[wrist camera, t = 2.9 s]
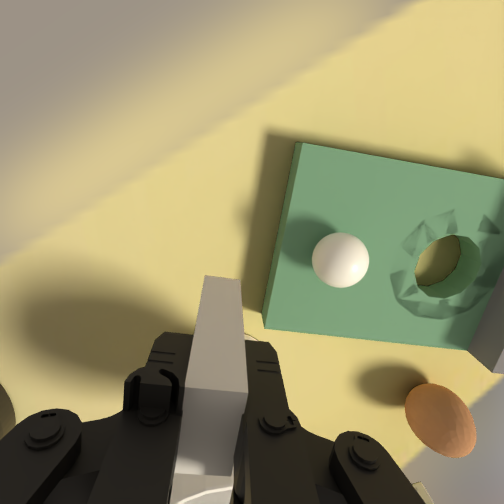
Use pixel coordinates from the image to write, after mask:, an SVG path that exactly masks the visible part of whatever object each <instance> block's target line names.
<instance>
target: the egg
mask: <svg viewBox="0 0 504 504" xmlns="http://www.w3.org/2000/svg"><path fill="white" fill-rule="evenodd" d="M405 413H406V418H407V421H408V424H409V425H410V427H411V429H412V431H413V432H414V433H415V435H416V436H417V437H418V438H419V439H420V440H421V441H422V442H423V443H424V444H425V445H426V446H428V447H429V448H431V449H432V450H434V451H435V452H437V453H440V454H442V455H444V456H447V457H451V458H459V457H463V456H466V455H468V454H469V453H470V452H471V451H472V450H473V448H474V446H475V443H476V428H475V425H474V421H473V418H472V415H471V413H470V411H469V410H468V408H467V406H466V405H465V404H464V402H463V401H462V400H461V399H460V398H459V397H458V396H457V395H456V394H455V393H453V392H452V391H450V390H449V389H447V388H445V387H443V386H440V385H436V384H421V385H418V386H416V387H414V388H413V389H412V390H411V391H410V392H409V394H408V396H407V398H406V402H405Z"/></svg>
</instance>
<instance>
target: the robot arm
mask: <svg viewBox="0 0 504 504" xmlns="http://www.w3.org/2000/svg"><path fill="white" fill-rule="evenodd" d="M233 466H234V484H233V489H232V493H231V498H230V503H229V504H426V503H425V502H424V500H423V499H422V498H421V496H420V495H419V494H418V492H417V491H416V490H415V488H414V487H413V486H412V484H411V483H410V482H409V480H408V479H407V478H406V476H405V475H404V473H403V472H402V471H401V469H400V468H399V467H398V465H397V464H396V463H395V461H394V460H393V459H392V457H391V456H390V454H389V453H388V452H387V451H386V450H385V449H384V447H383V446H382V445H381V444H380V443H379V442H377V441H376V440H374V439H373V438H371V437H370V436H368V435H366V434H363V433H360V432H355V431H347V432H344V433H341V434H339V436H338V437H337V439H336V440H335V442H333V441H331V440H328V439H325V438H323V437H320V436H317V435H315V434H313V433H310V432H308V431H307V430H305V429H304V428H303V427H301V425H300V423H299V421H298V418H297V417H296V416H295V415H294V414H293V412H292V411H291V410H289V407H288V402H287V397H286V393H285V388H284V384H283V379H282V374H281V370H280V365H279V361H278V356H277V352H276V351H275V349H274V348H273V347H272V346H271V344H270V343H269V342H263V341H253V340H245V339H244V325H243V311H242V297H241V283H240V280H237V279H230V278H222V277H214V276H207V275H205V277H204V283H203V288H202V294H201V299H200V304H199V310H198V315H197V321H196V326H195V332H194V335H189V334H180V333H171V332H164V333H163V334H162V335H160V336H159V337H158V338H157V339H156V340H155V342H154V344H153V347H152V350H151V353H150V355H149V358H148V362H147V363H146V366H145V367H142V368H139V369H137V370H136V371H134V372H133V373H131V374H130V375H129V376H128V378H127V379H126V380H125V382H124V400H123V410H122V411H120V412H119V413H117V414H115V415H113V416H110V417H107V418H103V419H100V420H94V421H88V422H83V423H82V422H81V420H80V419H79V417H78V415H77V414H75V413H73V412H71V411H69V410H65V409H50V410H44V411H40V412H38V413H36V414H33V415H31V416H28V417H27V418H26V419H24V420H23V421H21V422H20V423H19V424H17V425H16V426H15V412H14V408H13V405H12V403H11V400H10V398H9V396H8V395H7V393H6V391H5V390H4V388H3V387H2V386H1V385H0V504H170V499H171V492H172V485H173V478H174V473H181V474H197V475H213V476H229V477H231V475H232V470H233Z"/></svg>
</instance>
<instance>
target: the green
mask: <svg viewBox="0 0 504 504" xmlns="http://www.w3.org/2000/svg"><path fill="white" fill-rule="evenodd" d="M339 232H342V233H348V234H351V235H353V236H355V237H357V238H358V239H359V240H360V241H361V242H362V243H363V244H364V245H365V247H366V249H367V251H368V255H369V266H368V269H367V272H366V274H365V275H364V277H363V278H362V279H361V280H360V281H359V282H357V283H356V284H354V285H352V286H349V287H344V288H337V287H332V286H329V285H327V284H326V283H324V282H323V281H321V280H320V279H319V277H318V276H317V275H316V273H315V271H314V269H313V265H312V254H313V251H314V249H315V247H316V245H317V244H318V242H319V241H320V240H321V239H323V238H324V237H325V236H327V235H329V234H333V233H339ZM451 234H452V235H455V236H456V237H457V238H458V239H459V243H460V250H461V255H460V258H459V261H458V263H457V266H456V268H455V270H454V271H453V272H452V273H450V274H449V275H448V276H447V277H446V278H445V279H444V280H443V281H441V282H438V283H435V284H432V285H430V286H422V285H417V283H416V278H415V273H414V271H415V268H416V265H417V262H418V259H419V256H420V254H421V253H422V252H423V251H424V250H425V249H426V248H427V247H428V246H429V245H430V244H431V243H432V242H433V241H435V240H438V239H440V238H443V237H446V236H449V235H451ZM261 314H262V319H263V324H264V329H273V330H282V331H291V332H300V333H309V334H319V335H328V336H337V337H346V338H355V339H365V340H374V341H383V342H392V343H401V344H411V345H420V346H429V347H438V348H447V349H457V350H466V351H468V352H469V353H470V354H472V355H473V356H474V357H475V358H476V359H477V360H478V361H479V362H481V363H482V364H483V365H484V366H485V367H486V368H487V369H489V370H490V371H491V372H492V373H500V374H504V179H500V178H494V177H489V176H483V175H478V174H472V173H467V172H461V171H456V170H450V169H445V168H439V167H434V166H428V165H423V164H417V163H412V162H406V161H401V160H395V159H390V158H384V157H379V156H373V155H368V154H362V153H357V152H351V151H346V150H340V149H335V148H329V147H324V146H319V145H313V144H308V143H300V142H296V144H295V149H294V154H293V159H292V164H291V169H290V174H289V179H288V184H287V189H286V194H285V199H284V204H283V209H282V214H281V219H280V224H279V229H278V234H277V239H276V244H275V249H274V254H273V259H272V264H271V269H270V273H269V278H268V283H267V288H266V293H265V298H264V303H263V308H262V313H261Z"/></svg>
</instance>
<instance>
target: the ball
mask: <svg viewBox="0 0 504 504" xmlns="http://www.w3.org/2000/svg"><path fill="white" fill-rule="evenodd" d="M312 265H313V269H314V271H315V273H316V275H317V276H318V277H319V279H320V280H321V281H323V282H324V283H326V284H327V285H329V286H332V287H337V288H344V287H349V286H352V285H354V284H356V283H357V282H359V281H360V280H361V279H362V278H363V277H364V275H365V274H366V272H367V269H368V266H369V255H368V251H367V249H366V247H365V245H364V244H363V243H362V242H361V241H360V240H359V239H358V238H357V237H355V236H353V235H351V234H348V233H342V232H339V233H333V234H329V235H327V236H325V237H324V238H323V239H321V240H320V241H319V242H318V244H317V245H316V247H315V249H314V251H313V254H312Z"/></svg>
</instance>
